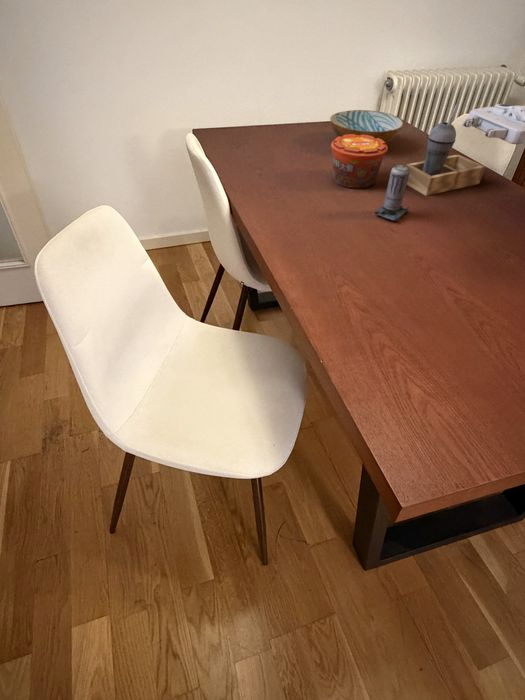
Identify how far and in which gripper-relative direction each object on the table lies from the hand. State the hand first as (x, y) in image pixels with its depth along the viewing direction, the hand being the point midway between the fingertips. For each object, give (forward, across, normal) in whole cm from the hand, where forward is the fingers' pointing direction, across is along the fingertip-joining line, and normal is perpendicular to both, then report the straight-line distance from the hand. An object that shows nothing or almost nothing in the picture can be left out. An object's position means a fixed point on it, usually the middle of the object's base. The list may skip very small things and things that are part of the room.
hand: (476, 128), depth 111 cm
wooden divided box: (+6, +1, -15) cm, 16 cm away
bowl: (+12, +37, -15) cm, 42 cm away
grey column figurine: (+31, -13, -15) cm, 37 cm away
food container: (+30, +10, -15) cm, 35 cm away
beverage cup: (+10, 0, -14) cm, 17 cm away
